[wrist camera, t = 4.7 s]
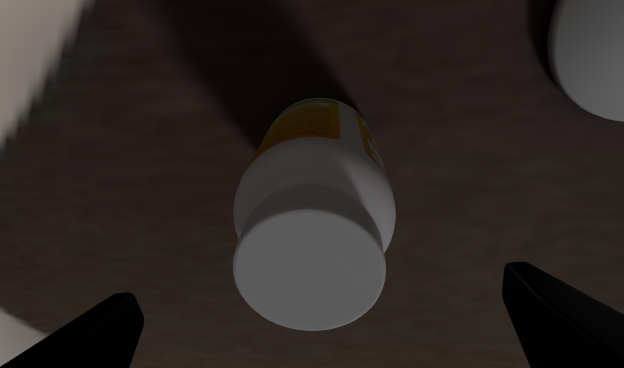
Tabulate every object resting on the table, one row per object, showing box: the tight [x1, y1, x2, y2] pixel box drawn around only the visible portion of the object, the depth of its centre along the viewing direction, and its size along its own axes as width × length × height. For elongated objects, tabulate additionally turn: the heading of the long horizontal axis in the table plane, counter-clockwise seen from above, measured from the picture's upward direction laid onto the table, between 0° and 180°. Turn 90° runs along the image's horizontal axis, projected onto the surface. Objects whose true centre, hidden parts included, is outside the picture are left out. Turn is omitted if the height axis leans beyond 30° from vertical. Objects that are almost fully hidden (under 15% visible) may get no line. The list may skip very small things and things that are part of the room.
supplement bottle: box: [233, 98, 396, 331], centre depth 14 cm, size 5×5×10 cm
